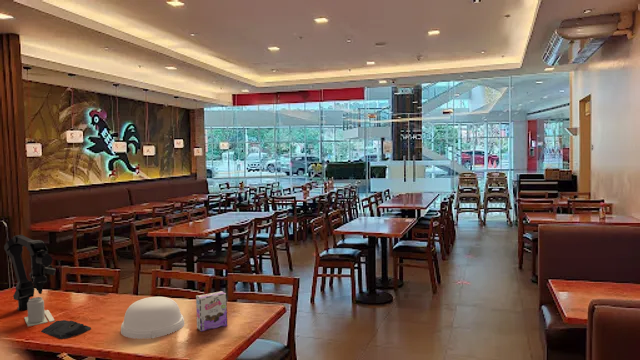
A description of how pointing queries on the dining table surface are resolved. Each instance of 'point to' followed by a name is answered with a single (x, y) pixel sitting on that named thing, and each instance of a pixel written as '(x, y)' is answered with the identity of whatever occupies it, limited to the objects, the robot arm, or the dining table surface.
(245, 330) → the dining table surface
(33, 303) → the can
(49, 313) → the strip
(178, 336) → the dining table surface
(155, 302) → the dome cover
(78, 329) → the dark slate chunk
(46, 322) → the pad
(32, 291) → the robot arm
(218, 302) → the candy box
